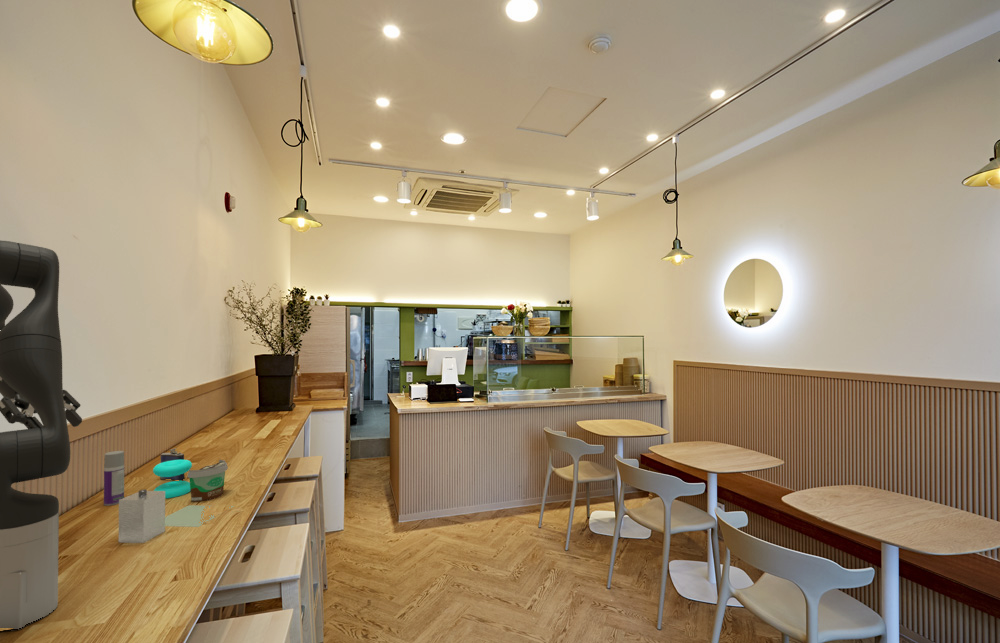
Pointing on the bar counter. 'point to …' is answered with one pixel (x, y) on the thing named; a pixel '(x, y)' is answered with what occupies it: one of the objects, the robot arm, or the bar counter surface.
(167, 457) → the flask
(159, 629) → the bar counter surface
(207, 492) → the food container
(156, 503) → the steel cover
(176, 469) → the donuts
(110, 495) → the container
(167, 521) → the rubber mat
